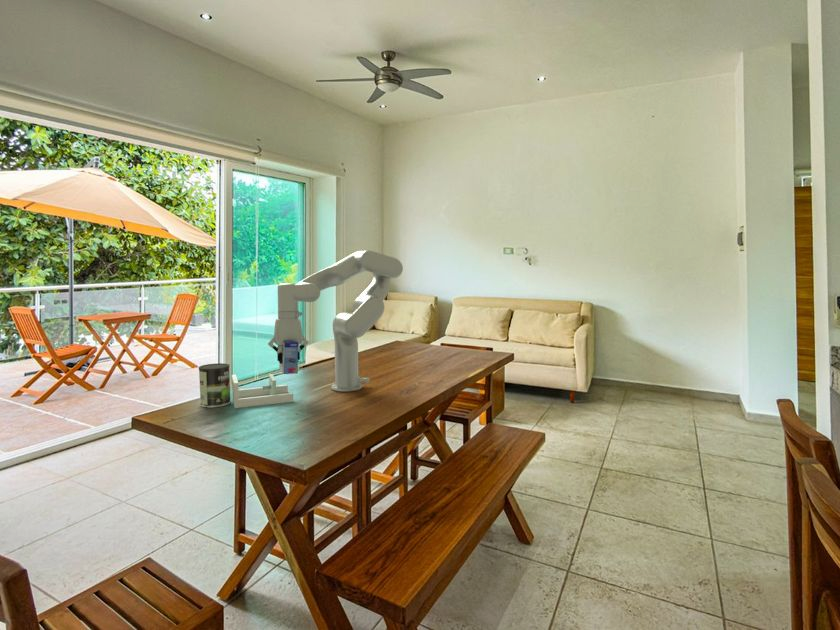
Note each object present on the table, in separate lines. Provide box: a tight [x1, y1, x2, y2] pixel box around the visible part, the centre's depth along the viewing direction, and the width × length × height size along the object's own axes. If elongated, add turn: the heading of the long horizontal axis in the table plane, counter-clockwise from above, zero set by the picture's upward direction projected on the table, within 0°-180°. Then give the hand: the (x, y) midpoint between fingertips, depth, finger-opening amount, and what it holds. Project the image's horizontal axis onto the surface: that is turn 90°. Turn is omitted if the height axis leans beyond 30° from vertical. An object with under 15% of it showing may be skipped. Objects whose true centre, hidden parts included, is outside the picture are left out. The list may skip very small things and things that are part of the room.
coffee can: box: [198, 362, 231, 409], centre depth 168 cm, size 10×10×14 cm
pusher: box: [262, 373, 277, 395], centre depth 175 cm, size 4×11×8 cm, turn 25°
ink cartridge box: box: [278, 341, 299, 375], centre depth 177 cm, size 10×6×14 cm, turn 27°
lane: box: [231, 374, 294, 409], centre depth 174 cm, size 20×14×9 cm
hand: (288, 361), depth 177 cm, fingers closed on ink cartridge box, 5 cm apart
